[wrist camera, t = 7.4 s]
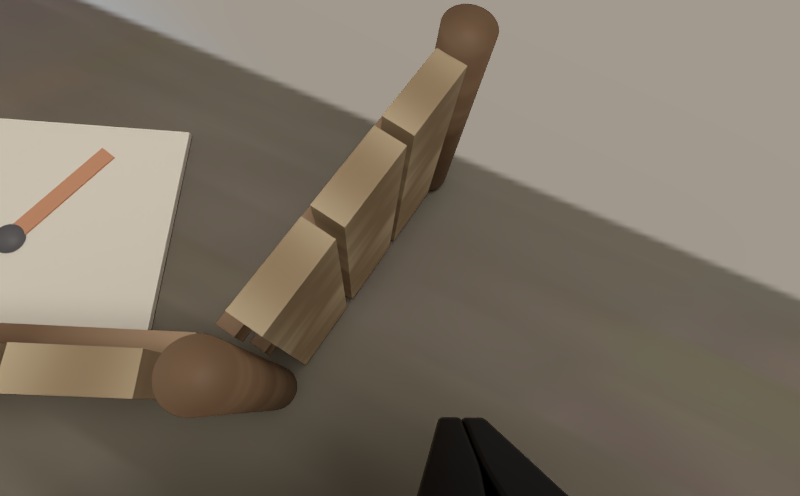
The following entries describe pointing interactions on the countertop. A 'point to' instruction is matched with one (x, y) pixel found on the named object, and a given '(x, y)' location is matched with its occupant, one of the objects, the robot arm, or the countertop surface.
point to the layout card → (86, 221)
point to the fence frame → (141, 368)
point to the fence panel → (367, 197)
